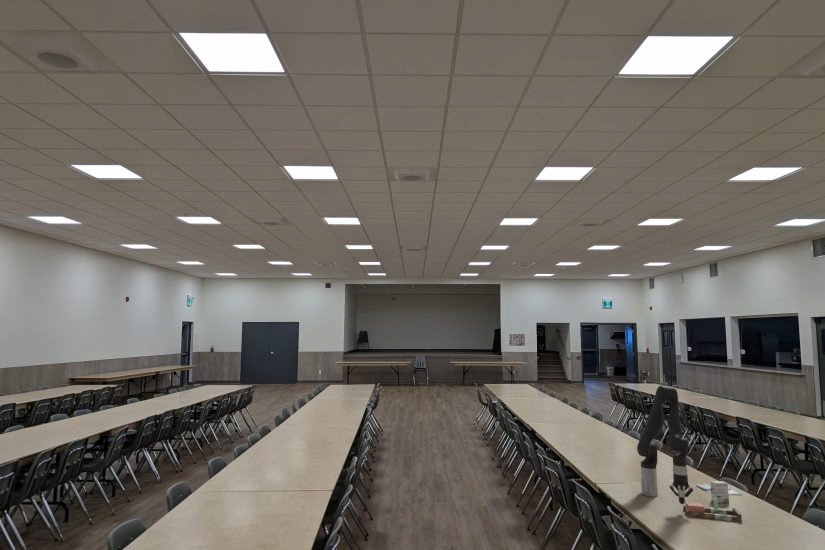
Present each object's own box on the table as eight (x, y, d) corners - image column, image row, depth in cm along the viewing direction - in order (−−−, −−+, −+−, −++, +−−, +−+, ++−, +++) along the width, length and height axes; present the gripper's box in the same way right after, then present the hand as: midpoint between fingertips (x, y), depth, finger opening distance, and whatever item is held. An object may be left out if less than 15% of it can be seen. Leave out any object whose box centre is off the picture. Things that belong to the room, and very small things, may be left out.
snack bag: (722, 486, 341) (722, 483, 341) (742, 496, 321) (742, 492, 321) (695, 486, 340) (695, 483, 340) (714, 496, 320) (714, 493, 320)
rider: (689, 515, 284) (688, 505, 285) (685, 511, 290) (685, 502, 291) (704, 516, 282) (703, 506, 283) (700, 513, 288) (700, 503, 289)
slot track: (687, 516, 283) (686, 508, 283) (683, 509, 293) (683, 502, 294) (741, 522, 274) (741, 514, 275) (735, 515, 285) (735, 508, 285)
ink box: (724, 500, 311) (722, 480, 312) (729, 502, 306) (728, 483, 308) (711, 500, 311) (709, 480, 312) (716, 503, 306) (715, 483, 307)
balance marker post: (714, 511, 291) (713, 498, 292) (713, 510, 293) (712, 497, 294) (718, 511, 290) (717, 499, 291) (717, 510, 292) (716, 498, 293)
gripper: (668, 473, 289) (670, 504, 287) (694, 475, 285) (696, 507, 283) (666, 470, 297) (668, 500, 294) (691, 472, 292) (693, 503, 290)
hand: (681, 503), depth 289 cm, fingers closed
